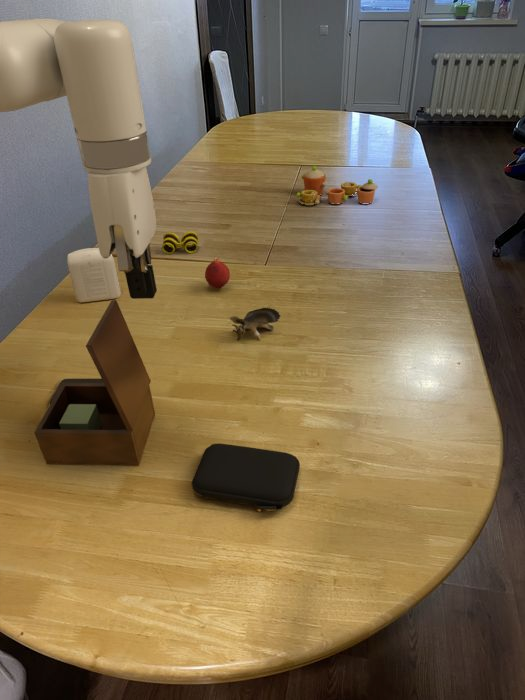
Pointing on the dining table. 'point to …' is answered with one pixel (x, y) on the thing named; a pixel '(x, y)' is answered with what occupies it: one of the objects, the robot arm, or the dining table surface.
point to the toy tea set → (333, 189)
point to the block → (81, 417)
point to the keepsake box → (93, 444)
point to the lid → (119, 364)
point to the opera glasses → (173, 242)
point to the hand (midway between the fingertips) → (143, 295)
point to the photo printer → (93, 275)
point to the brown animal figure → (255, 321)
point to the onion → (217, 274)
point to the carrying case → (247, 476)
